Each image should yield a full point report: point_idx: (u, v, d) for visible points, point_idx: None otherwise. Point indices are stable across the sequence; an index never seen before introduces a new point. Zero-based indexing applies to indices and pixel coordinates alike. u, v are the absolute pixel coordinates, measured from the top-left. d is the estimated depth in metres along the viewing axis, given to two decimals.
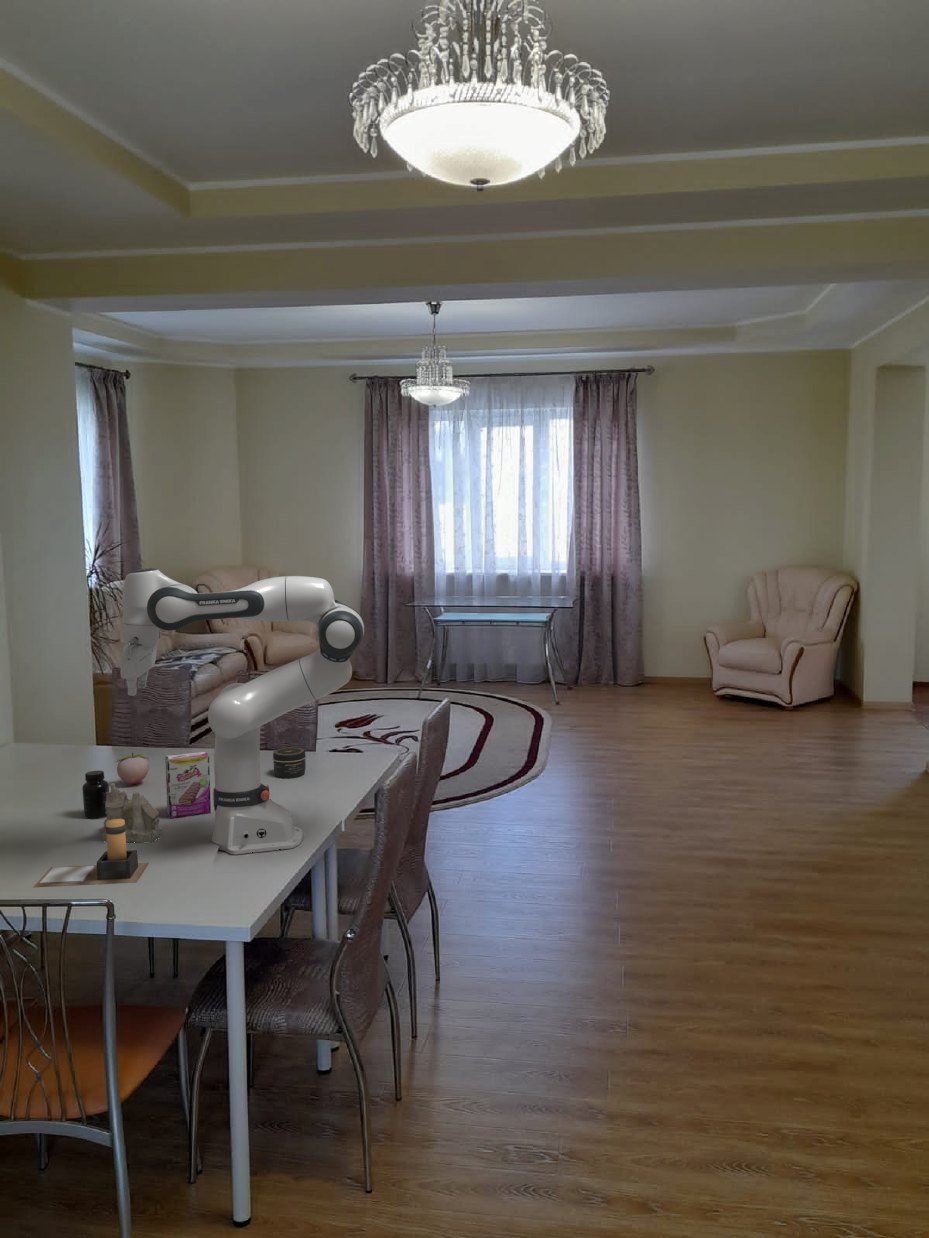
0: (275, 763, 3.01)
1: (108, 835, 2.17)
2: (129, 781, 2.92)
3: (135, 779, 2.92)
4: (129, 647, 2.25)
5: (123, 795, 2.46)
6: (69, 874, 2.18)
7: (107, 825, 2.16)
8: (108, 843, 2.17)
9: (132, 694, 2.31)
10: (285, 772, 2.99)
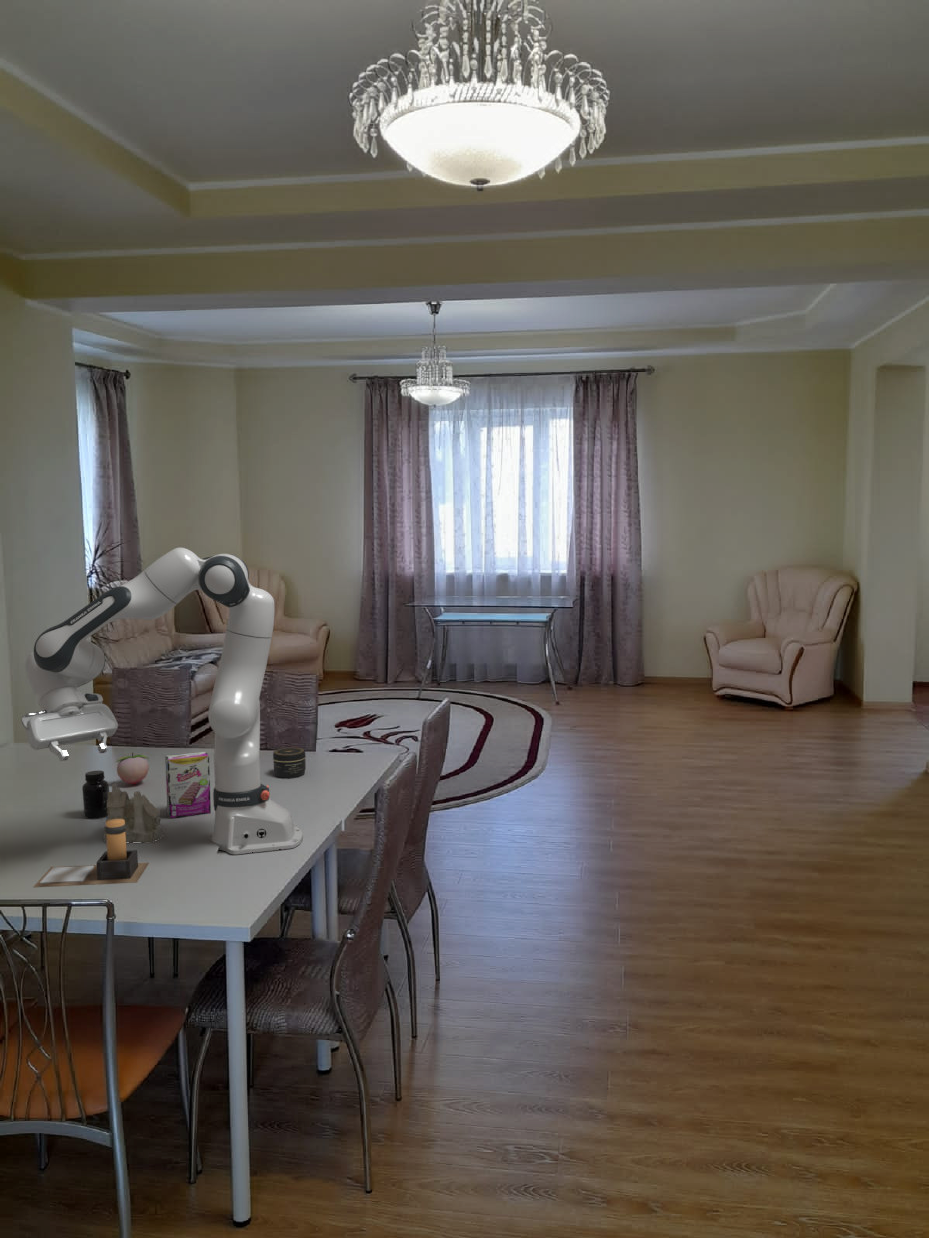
0: (275, 763, 3.01)
1: (108, 835, 2.17)
2: (129, 781, 2.92)
3: (135, 779, 2.92)
4: (21, 719, 2.22)
5: (124, 795, 2.46)
6: (69, 874, 2.18)
7: (107, 825, 2.16)
8: (108, 843, 2.17)
9: (61, 758, 2.21)
10: (285, 772, 2.99)
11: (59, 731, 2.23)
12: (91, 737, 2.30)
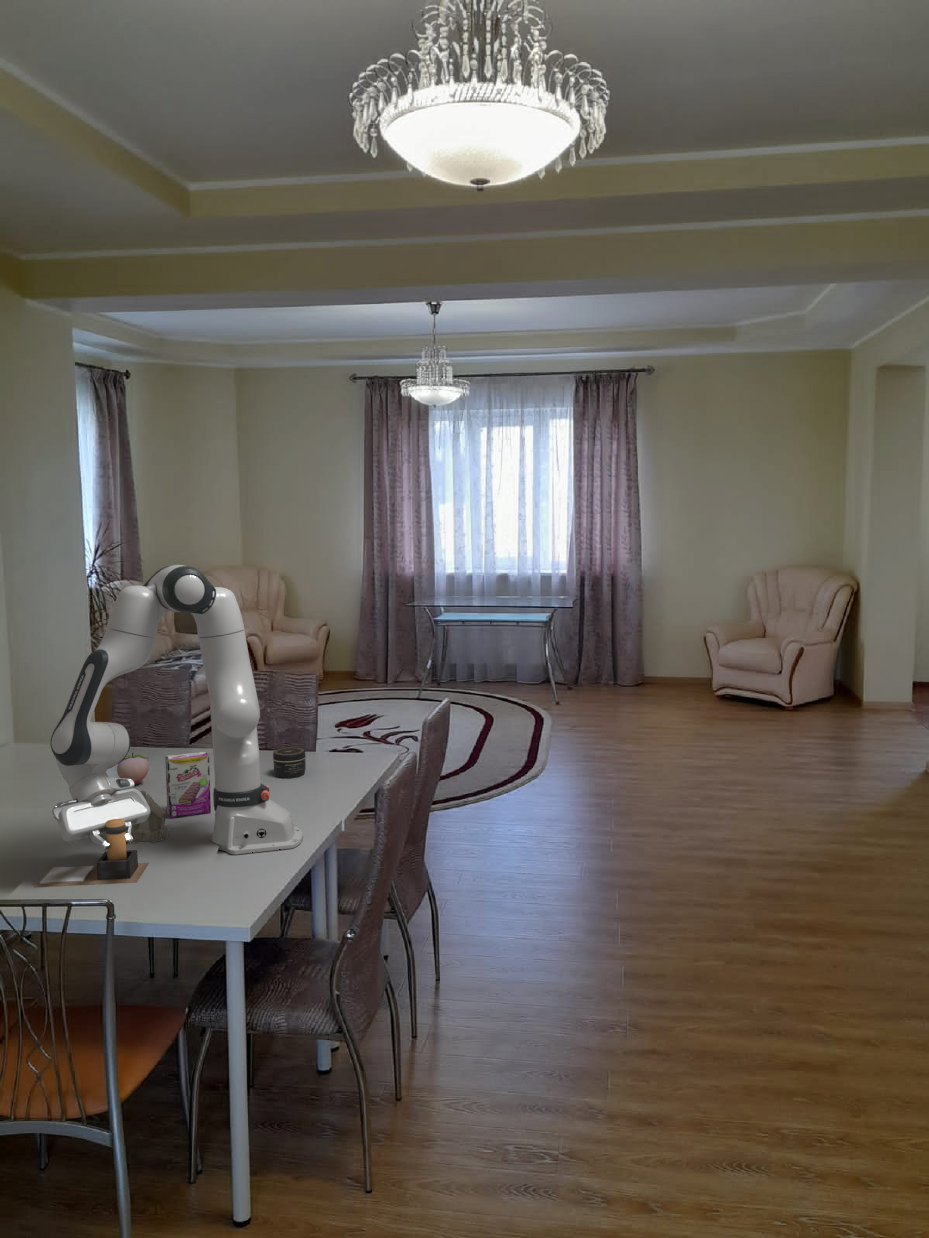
0: (275, 763, 3.01)
1: (108, 835, 2.17)
2: None
3: (135, 779, 2.92)
4: (52, 810, 2.15)
5: None
6: (69, 874, 2.18)
7: (107, 825, 2.16)
8: None
9: (103, 847, 2.16)
10: (285, 772, 2.99)
11: (91, 821, 2.17)
12: None
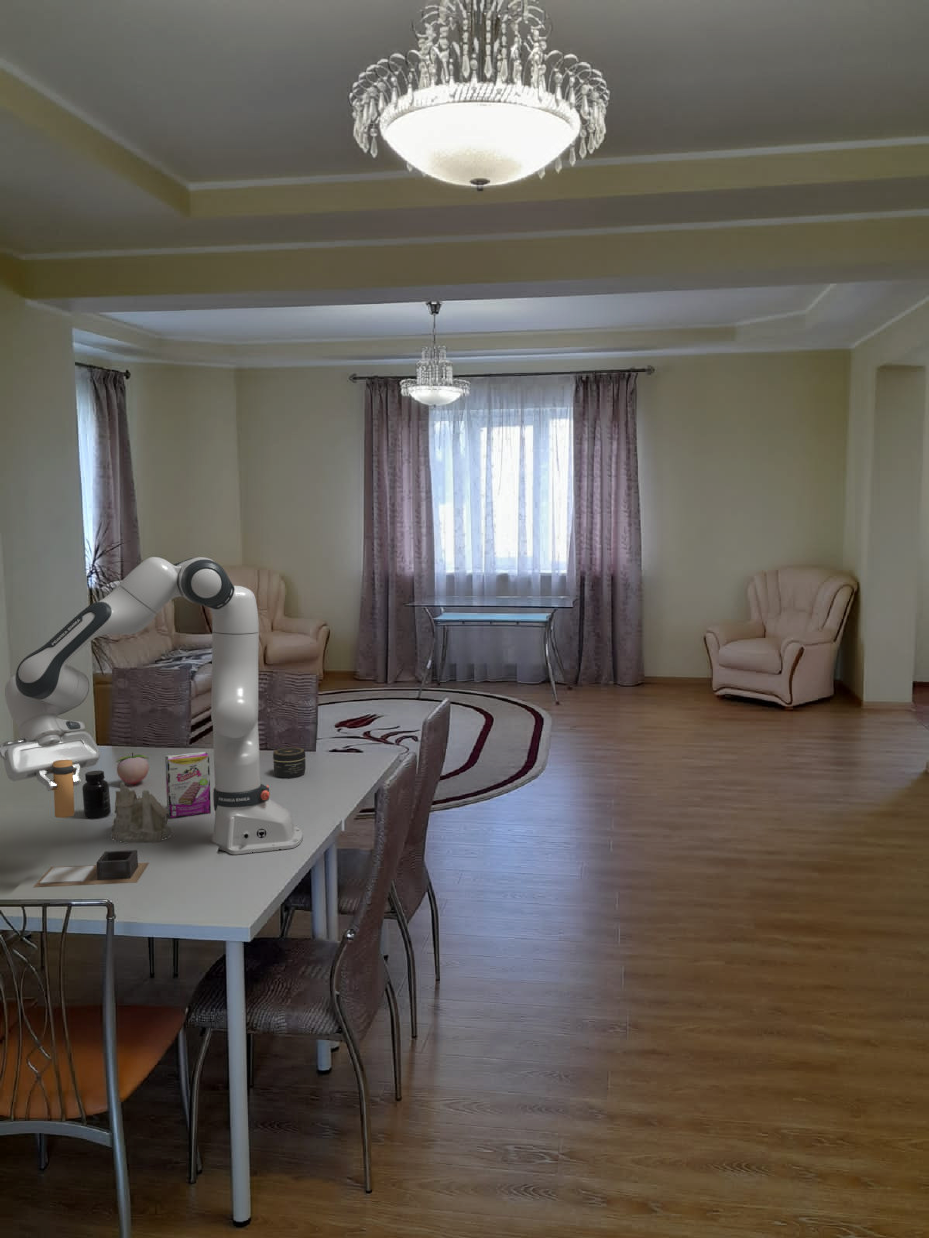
0: (275, 763, 3.01)
1: (55, 775, 2.14)
2: (129, 781, 2.92)
3: (135, 779, 2.92)
4: None
5: (132, 794, 2.46)
6: (69, 874, 2.18)
7: (54, 765, 2.14)
8: None
9: (49, 788, 2.13)
10: (285, 772, 2.99)
11: (38, 761, 2.14)
12: None
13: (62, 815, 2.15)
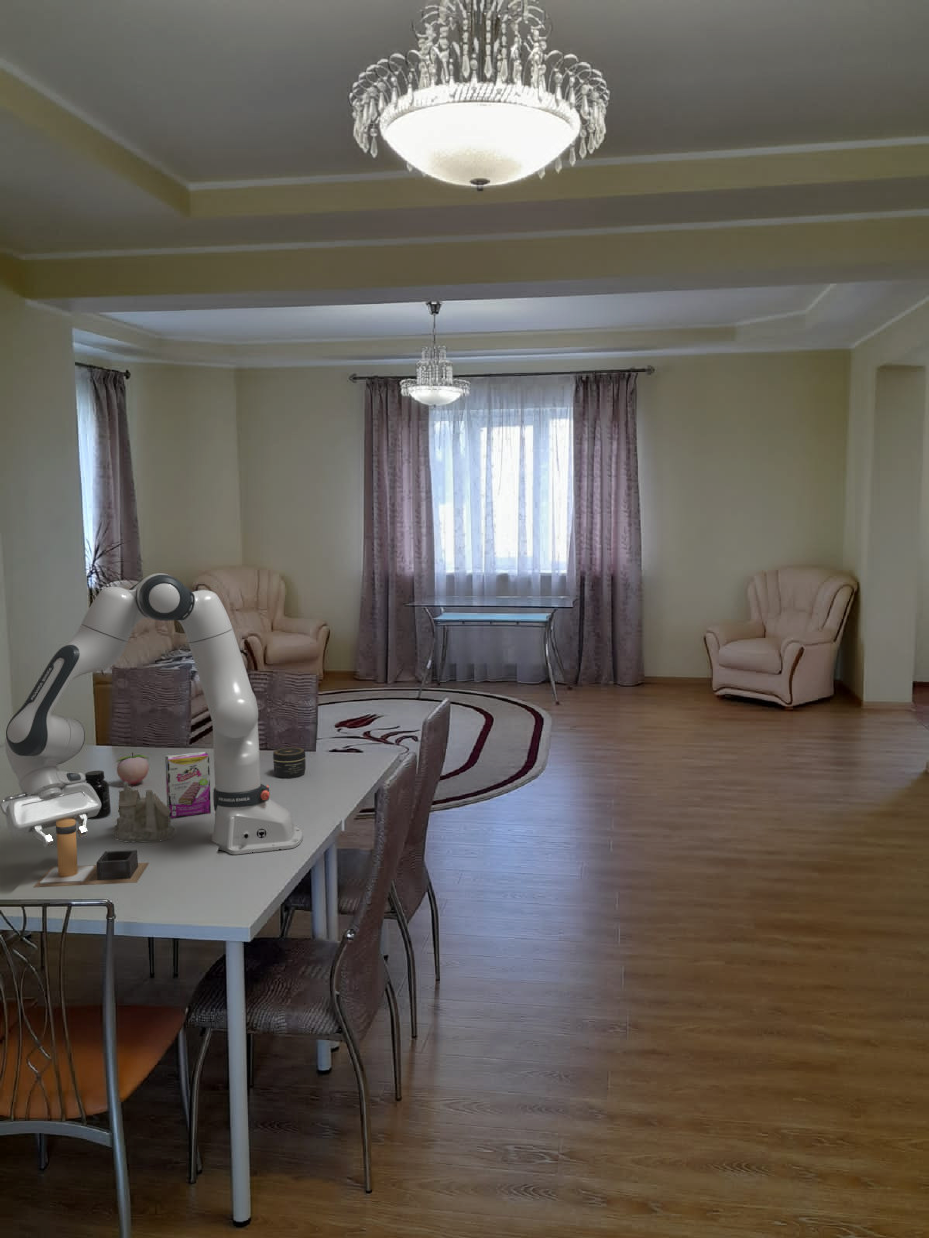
0: (275, 763, 3.01)
1: (58, 835, 2.16)
2: (129, 781, 2.92)
3: (135, 779, 2.92)
4: (0, 804, 2.14)
5: (136, 794, 2.47)
6: None
7: (57, 825, 2.16)
8: (58, 843, 2.16)
9: (45, 843, 2.13)
10: (285, 772, 2.99)
11: (40, 815, 2.15)
12: None
13: (65, 874, 2.16)
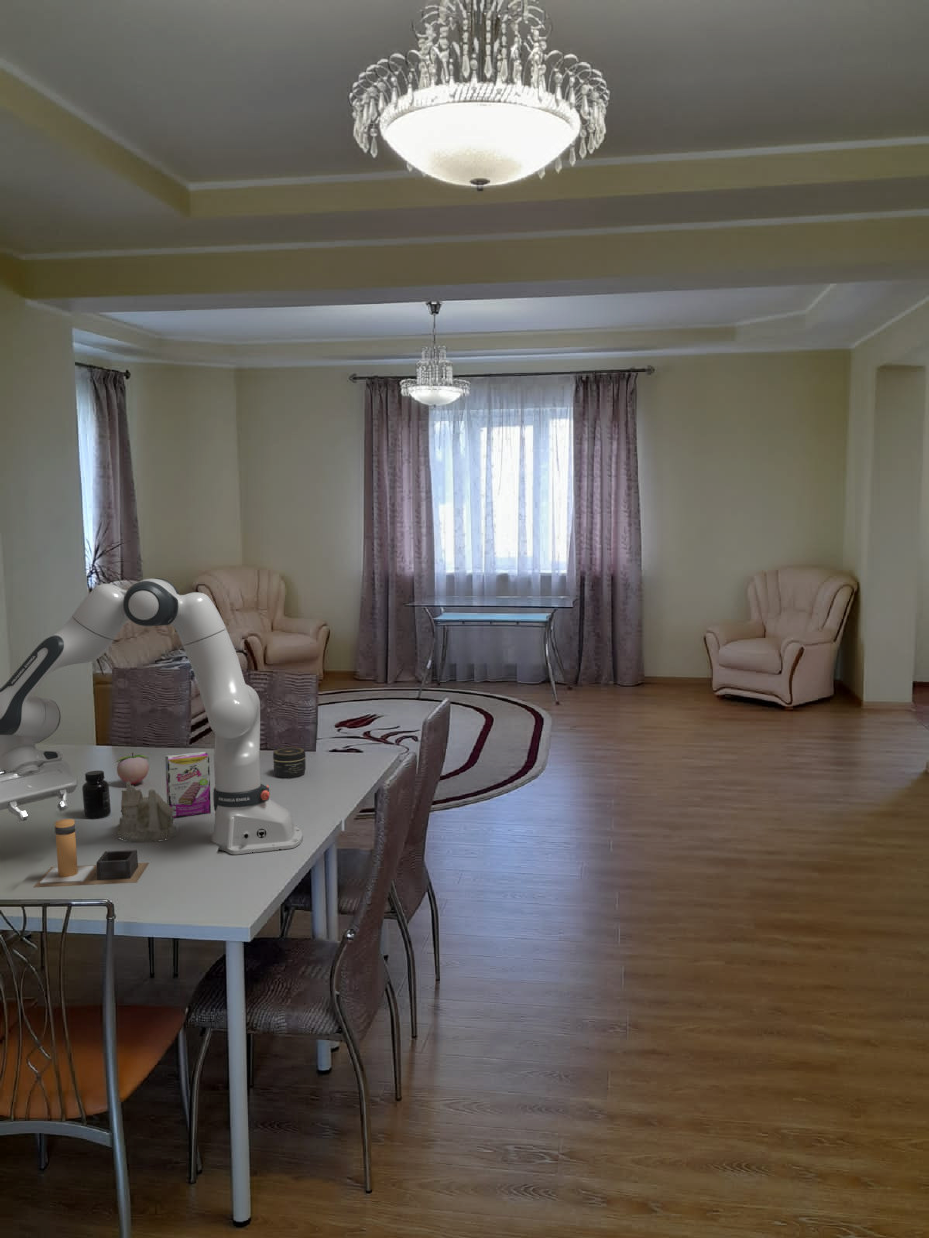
0: (275, 763, 3.01)
1: (57, 835, 2.16)
2: (129, 781, 2.92)
3: (135, 779, 2.92)
4: None
5: (138, 793, 2.47)
6: None
7: (56, 825, 2.15)
8: (57, 843, 2.16)
9: (20, 818, 2.23)
10: (285, 772, 2.99)
11: (18, 791, 2.25)
12: (51, 795, 2.32)
13: (65, 874, 2.16)
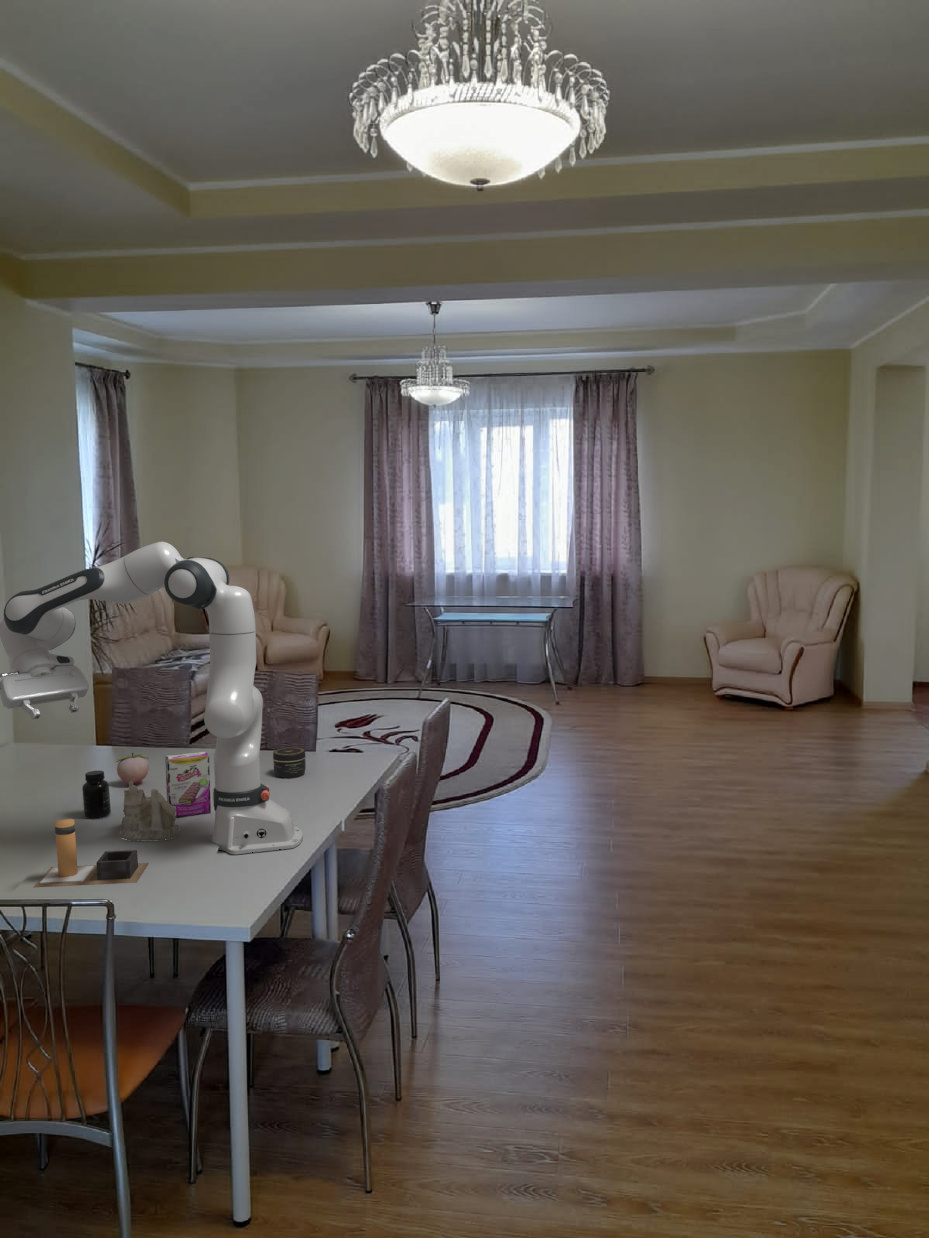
0: (275, 763, 3.01)
1: (57, 835, 2.16)
2: (129, 781, 2.92)
3: (135, 779, 2.92)
4: None
5: (141, 793, 2.47)
6: None
7: (56, 825, 2.15)
8: (57, 843, 2.16)
9: (33, 716, 2.29)
10: (285, 772, 2.99)
11: (31, 691, 2.32)
12: (63, 697, 2.39)
13: (65, 874, 2.16)
